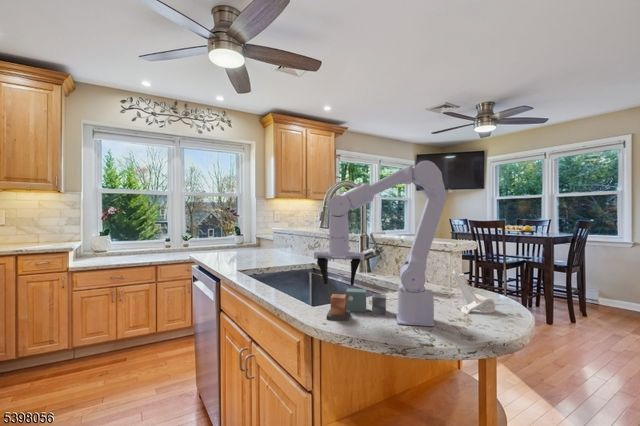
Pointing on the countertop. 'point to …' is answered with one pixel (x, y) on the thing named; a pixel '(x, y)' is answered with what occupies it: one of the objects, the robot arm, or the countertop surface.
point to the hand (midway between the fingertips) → (339, 284)
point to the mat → (337, 317)
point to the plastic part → (473, 297)
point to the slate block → (379, 304)
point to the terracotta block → (338, 304)
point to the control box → (356, 300)
